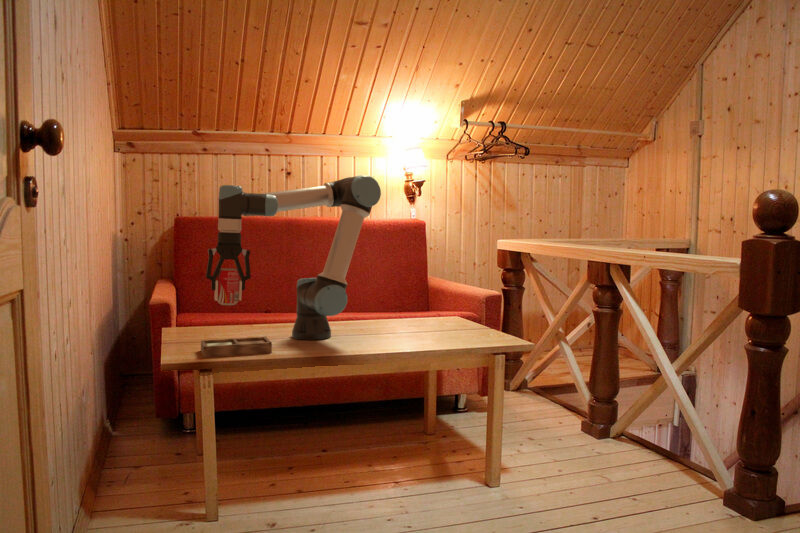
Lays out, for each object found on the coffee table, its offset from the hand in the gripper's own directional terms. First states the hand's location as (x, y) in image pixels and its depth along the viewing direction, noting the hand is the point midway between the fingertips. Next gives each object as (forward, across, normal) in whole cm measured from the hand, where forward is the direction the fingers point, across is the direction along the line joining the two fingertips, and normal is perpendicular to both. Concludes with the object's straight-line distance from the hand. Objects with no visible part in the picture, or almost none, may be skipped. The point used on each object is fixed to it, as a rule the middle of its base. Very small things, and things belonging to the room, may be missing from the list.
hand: (228, 299), depth 190 cm
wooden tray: (+18, -3, 0) cm, 18 cm away
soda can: (+2, 0, 0) cm, 2 cm away
